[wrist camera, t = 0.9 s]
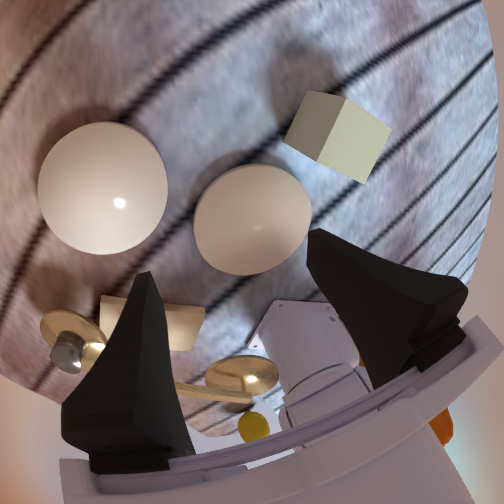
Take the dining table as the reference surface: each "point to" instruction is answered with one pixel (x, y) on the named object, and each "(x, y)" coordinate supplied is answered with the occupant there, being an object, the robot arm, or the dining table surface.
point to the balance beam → (216, 379)
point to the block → (337, 134)
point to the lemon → (253, 426)
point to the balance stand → (178, 318)
